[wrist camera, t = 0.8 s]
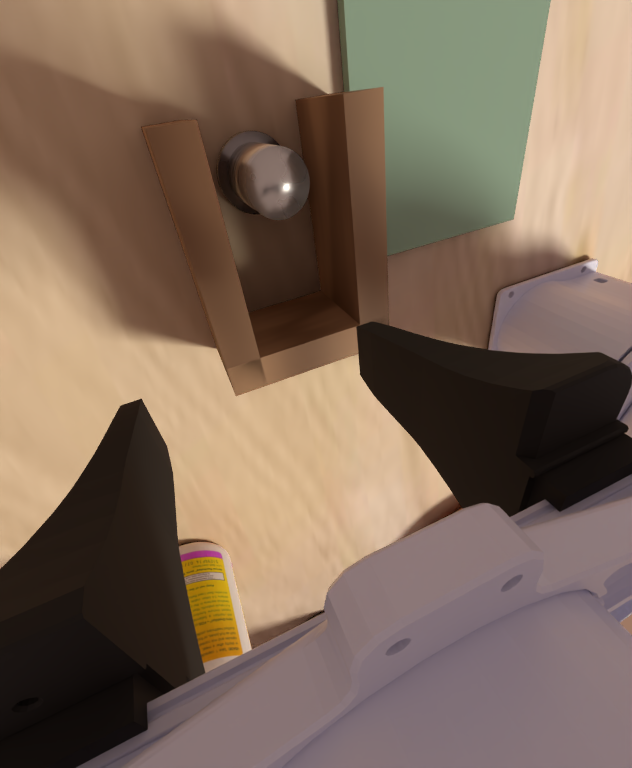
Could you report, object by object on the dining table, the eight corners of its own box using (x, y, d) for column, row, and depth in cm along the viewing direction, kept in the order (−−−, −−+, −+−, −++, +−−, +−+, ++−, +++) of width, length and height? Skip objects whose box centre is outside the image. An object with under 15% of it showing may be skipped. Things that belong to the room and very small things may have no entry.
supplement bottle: (126, 568, 29) (126, 799, 19) (208, 525, 30) (248, 724, 20) (170, 601, 33) (189, 804, 23) (241, 563, 34) (287, 742, 24)
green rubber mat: (554, -86, 17) (566, -92, 17) (506, 217, 25) (513, 219, 25) (332, -71, 15) (338, -77, 14) (356, 260, 23) (360, 263, 22)
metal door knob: (280, 124, 18) (312, 125, 14) (293, 204, 20) (323, 219, 17) (206, 138, 17) (225, 142, 14) (228, 219, 19) (248, 239, 16)
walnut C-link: (327, 93, 18) (383, 87, 14) (347, 307, 24) (389, 342, 20) (141, 126, 16) (145, 128, 12) (217, 348, 22) (236, 396, 18)
